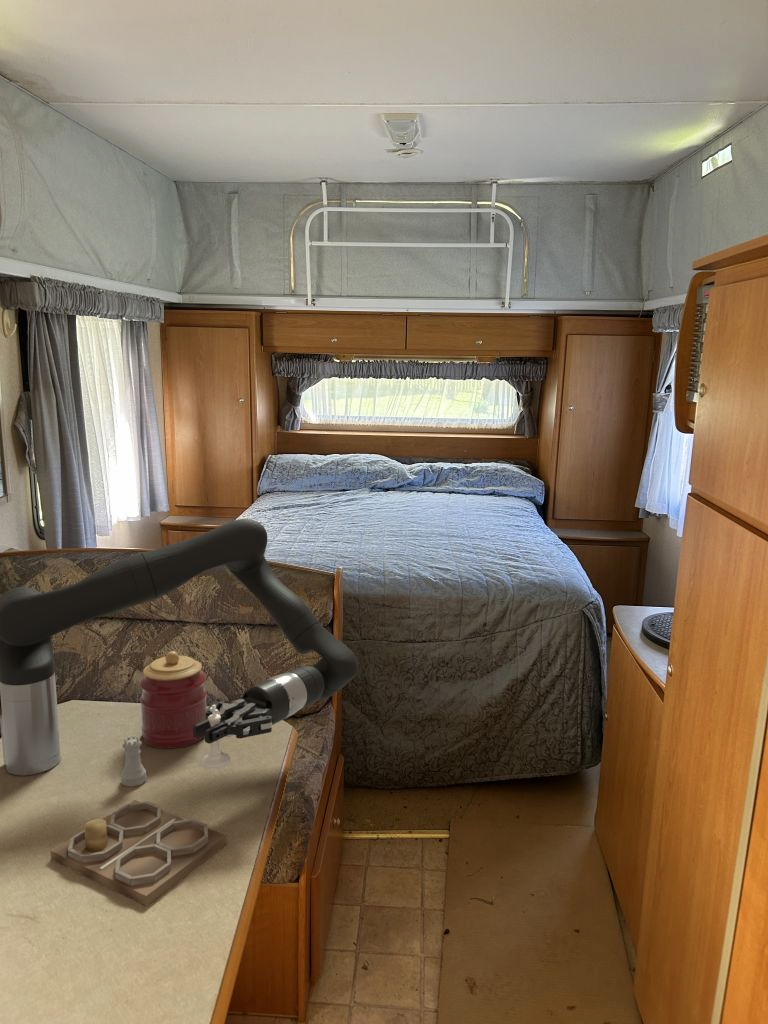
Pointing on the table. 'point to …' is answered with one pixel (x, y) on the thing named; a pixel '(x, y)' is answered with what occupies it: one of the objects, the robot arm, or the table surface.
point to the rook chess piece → (133, 763)
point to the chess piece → (215, 748)
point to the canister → (172, 701)
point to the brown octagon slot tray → (139, 850)
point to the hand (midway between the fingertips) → (200, 735)
